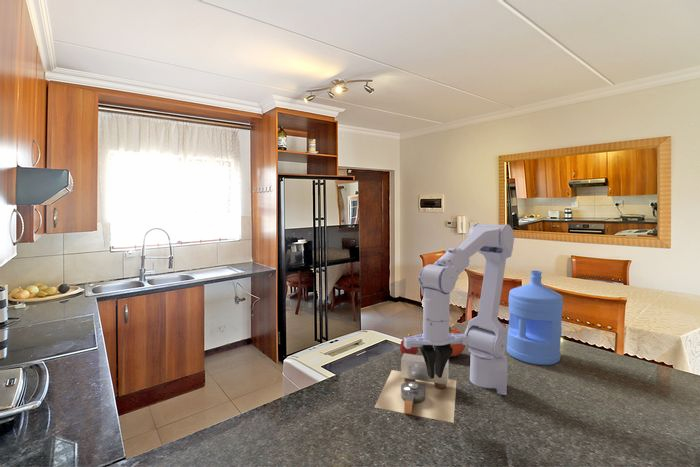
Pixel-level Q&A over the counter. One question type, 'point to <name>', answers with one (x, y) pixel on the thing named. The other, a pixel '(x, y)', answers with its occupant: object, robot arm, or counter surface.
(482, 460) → the counter surface
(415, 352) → the onion
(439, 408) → the wooden board
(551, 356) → the water jug
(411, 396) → the grey lidded pan
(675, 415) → the counter surface
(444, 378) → the grey long rectangular block
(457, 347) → the tomato
